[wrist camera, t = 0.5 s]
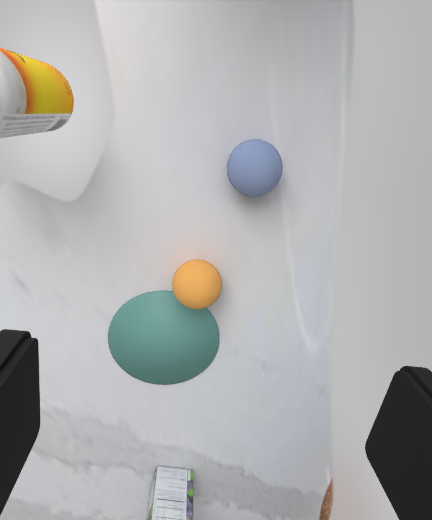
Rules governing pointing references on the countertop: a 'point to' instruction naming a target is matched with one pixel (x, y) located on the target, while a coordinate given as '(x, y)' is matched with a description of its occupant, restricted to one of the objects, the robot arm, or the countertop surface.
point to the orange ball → (196, 284)
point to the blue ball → (254, 167)
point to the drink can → (31, 96)
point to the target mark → (162, 338)
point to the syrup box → (171, 494)
